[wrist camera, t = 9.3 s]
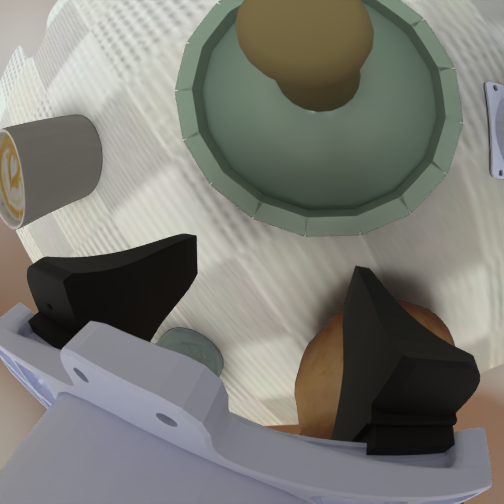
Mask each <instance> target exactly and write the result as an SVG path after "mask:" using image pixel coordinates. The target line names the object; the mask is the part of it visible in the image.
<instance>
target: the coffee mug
mask: <svg viewBox="0 0 504 504" xmlns="http://www.w3.org/2000/svg"><path fill="white" fill-rule="evenodd" d="M101 168H102V148H101V143H100V139H99V136H98V133H97V131H96V129H95V127H94V125H93V124H92V123H91V122H90V121H89V119H87V118H86V117H84V116H82V115H68V116H61V117H55V118H49V119H43V120H38V121H33V122H28V123H23V124H19V125H15V126H11V127H7V128H3V129H1V130H0V216H1V218H2V220H3V221H4V222H5V224H6V225H7V226H8V227H10V228H11V229H14V230H16V229H19V228H21V227H23V226H25V225H27V224H29V223H31V222H33V221H35V220H37V219H39V218H40V217H42V216H44V215H46V214H48V213H51V212H53V211H55V210H57V209H59V208H61V207H63V206H65V205H67V204H70V203H72V202H74V201H76V200H79V199H81V198H83V197H85V196H87V195H89V194H90V193H91V192H92V191H93V190H94V188H95V187H96V185H97V183H98V181H99V178H100V174H101Z"/></svg>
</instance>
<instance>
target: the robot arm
mask: <svg viewBox="0 0 504 504" xmlns="http://www.w3.org/2000/svg"><path fill="white" fill-rule="evenodd" d="M493 86H494V87H495V89H496V90H494V89H493ZM485 92H486V98H487V106H488V115H489V127H490V148H491V175H492V177H494V178H496V179H504V85H501V84H498V83H494V82H491V81H487V82H485ZM499 171H501V174H500V175H499ZM197 274H198V272H197V236H196V235H190V234H179V235H175V236H172V237H168V238H165V239H162V240H159V241H156V242H153V243H149V244H146V245H143V246H139V247H136V248H132V249H129V250H125V251H121V252H116V253H111V254H104V255H97V256H89V257H67V258H65V257H43V258H41V259H40V260H38V261H37V262H35V263H34V264H32V265H31V266H29V268H28V270H27V280H28V284H29V288H30V290H31V293H32V296H33V298H34V301H35V303H36V306H37V308H38V311H39V312H38V313H37V314H36V315H34V314H33V312H32V311H31V310H30V309H28V308H27V307H26V306H24V305H23V304H22V303H18V304H17V305H15V306H14V307H13V308H12V309H10V310H9V311H8V312H7V313H6V314H4V315H3V316H2V317H1V318H0V357H1V359H2V360H3V362H4V363H5V364H6V366H7V368H8V369H9V371H10V372H11V373H12V374H13V375H14V376H15V377H16V378H17V379H18V380H19V381H20V382H21V383H22V384H23V385H24V386H25V387H26V388H27V390H28V391H29V392H30V393H31V394H33V395H34V397H35V398H36V399H38V400H39V401H40V402H41V403H42V404H43V405H44V406H45V407H46V408H47V409H48V410H47V411H46V412H45V414H44V415H43V416H42V417H41V418H40V420H39V421H38V422H37V423H36V425H35V426H34V427H33V429H32V430H31V431H30V432H29V434H28V435H27V436H26V437H25V439H24V440H23V441H22V442H21V444H20V445H19V446H18V448H17V449H16V450H15V452H14V453H13V454H12V456H11V457H10V458H9V460H8V461H7V462H6V464H5V465H4V466H3V468H2V469H1V471H0V504H460V503H462V502H464V501H466V500H468V499H470V498H472V497H474V496H476V495H478V494H480V493H482V492H483V491H485V490H487V489H489V488H490V487H491V486H492V478H491V468H490V459H489V452H488V446H487V440H486V434H485V429H484V428H483V427H480V428H472V429H464V430H460V431H458V432H455V433H453V426H452V425H455V424H456V422H457V418H456V412H457V411H458V410H459V409H460V408H461V407H462V406H463V405H464V404H465V403H466V402H467V400H468V399H469V398H470V397H471V396H472V395H473V393H474V392H475V391H476V389H477V387H478V384H479V382H480V373H479V370H478V367H477V365H476V362H475V359H474V356H473V355H471V354H469V353H467V352H465V351H463V350H461V349H459V348H457V347H455V346H453V345H451V344H450V343H448V342H446V341H445V340H443V339H441V338H440V337H438V336H437V335H435V334H434V333H432V332H431V331H430V330H428V329H427V328H426V327H424V326H423V325H422V324H421V323H419V322H418V321H417V320H416V319H415V318H414V317H412V316H411V315H410V314H409V313H408V312H407V311H406V310H405V309H404V308H403V307H402V306H401V305H400V304H399V303H398V302H397V301H396V300H395V299H394V297H393V296H392V295H391V294H390V293H389V292H388V291H387V289H386V288H385V287H384V286H383V284H382V283H381V282H380V281H379V279H378V278H377V277H376V276H375V274H374V273H373V272H372V271H371V270H370V269H369V268H365V267H360V266H355V269H354V273H353V277H352V280H351V283H350V287H349V290H348V293H347V297H346V300H345V303H344V310H343V322H342V328H343V376H342V384H341V391H340V398H339V404H338V409H337V414H336V419H335V424H334V429H333V433H332V437H331V440H328V439H321V438H314V437H307V436H301V435H296V434H290V433H285V432H280V431H275V430H272V429H270V428H267V427H265V426H262V425H260V424H257V423H255V422H253V421H250V420H248V419H246V418H243V417H241V416H239V415H237V414H234V413H232V412H230V411H229V409H228V394H227V392H226V389H225V387H224V385H223V382H222V381H221V379H220V378H219V377H218V376H216V375H215V374H214V373H213V372H212V371H211V370H210V369H209V368H208V367H207V366H205V365H204V364H202V363H200V362H198V361H196V360H194V359H192V358H190V357H188V356H186V355H183V354H181V353H178V352H175V351H172V350H169V349H166V348H164V347H161V346H158V345H156V344H153V343H151V342H150V341H151V339H152V338H153V336H154V334H155V333H156V331H157V329H158V328H159V326H160V325H161V323H162V322H163V321H164V319H165V318H166V317H167V316H168V314H169V313H170V312H171V311H172V309H173V308H174V307H175V306H176V304H177V303H178V302H179V301H180V299H181V298H182V297H183V296H184V294H185V293H186V292H187V291H188V289H189V288H190V286H191V284H192V283H193V281H194V279H195V277H196V275H197Z"/></svg>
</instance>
